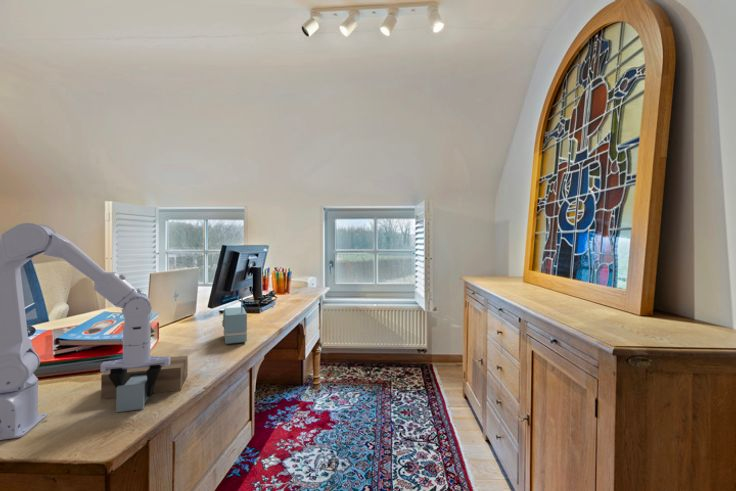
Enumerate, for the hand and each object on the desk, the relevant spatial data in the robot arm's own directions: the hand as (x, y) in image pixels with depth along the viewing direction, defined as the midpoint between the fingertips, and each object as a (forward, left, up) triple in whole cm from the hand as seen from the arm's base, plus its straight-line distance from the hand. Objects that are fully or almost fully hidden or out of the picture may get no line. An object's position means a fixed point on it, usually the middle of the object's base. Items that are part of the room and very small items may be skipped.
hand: (136, 396), depth 85 cm
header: (+10, 0, -1) cm, 10 cm away
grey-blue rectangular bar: (+4, 0, -1) cm, 4 cm away
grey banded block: (+51, -20, -2) cm, 55 cm away
